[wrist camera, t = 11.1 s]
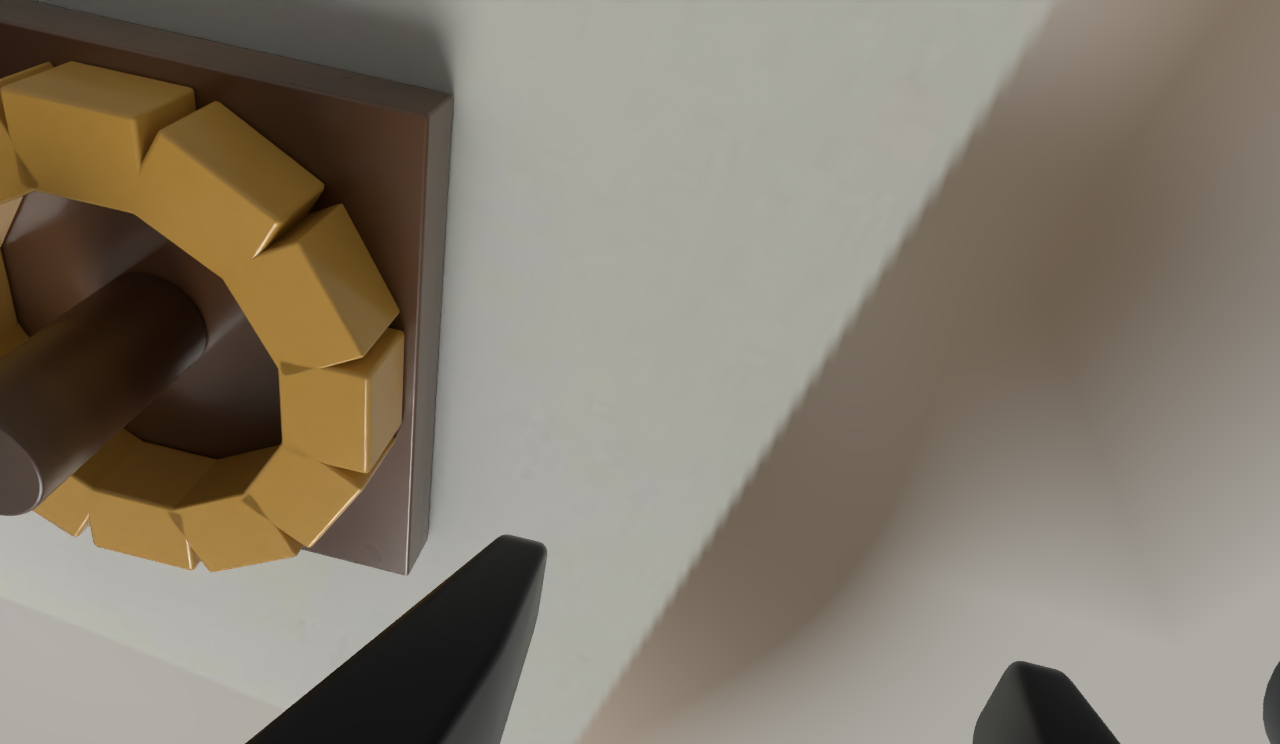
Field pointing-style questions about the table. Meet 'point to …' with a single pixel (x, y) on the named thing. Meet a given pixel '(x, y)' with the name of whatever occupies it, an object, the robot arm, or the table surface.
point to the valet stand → (217, 279)
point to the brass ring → (260, 283)
